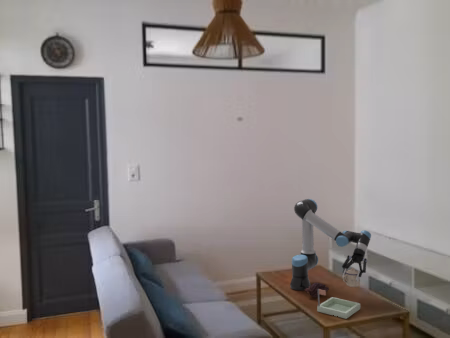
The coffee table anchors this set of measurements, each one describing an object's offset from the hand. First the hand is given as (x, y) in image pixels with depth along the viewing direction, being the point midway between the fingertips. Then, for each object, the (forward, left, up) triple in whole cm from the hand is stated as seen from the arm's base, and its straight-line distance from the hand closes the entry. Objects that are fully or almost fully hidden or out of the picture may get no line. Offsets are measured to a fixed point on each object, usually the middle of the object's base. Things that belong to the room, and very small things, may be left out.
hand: (350, 279), depth 294 cm
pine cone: (-23, -4, -16) cm, 28 cm away
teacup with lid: (-1, +3, -5) cm, 6 cm away
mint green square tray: (0, -17, -16) cm, 23 cm away
